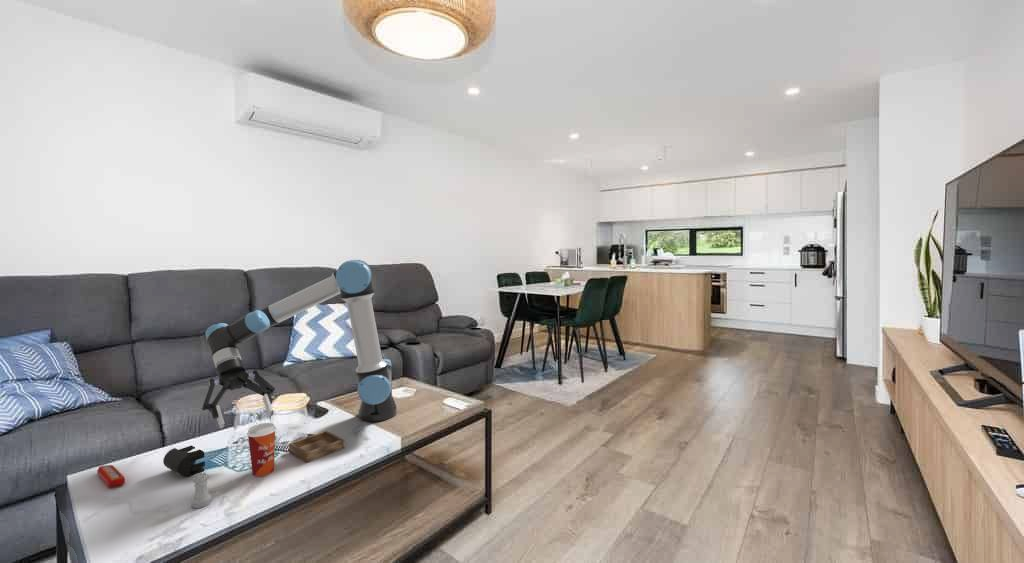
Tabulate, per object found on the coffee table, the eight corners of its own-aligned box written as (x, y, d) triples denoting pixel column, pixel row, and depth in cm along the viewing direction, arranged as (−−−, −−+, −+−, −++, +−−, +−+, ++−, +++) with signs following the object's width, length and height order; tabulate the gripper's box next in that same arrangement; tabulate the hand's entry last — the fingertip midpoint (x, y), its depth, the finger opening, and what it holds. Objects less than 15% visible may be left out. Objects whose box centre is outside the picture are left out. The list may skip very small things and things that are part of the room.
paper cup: (264, 479, 122) (262, 433, 121) (242, 477, 124) (240, 431, 123) (284, 466, 130) (282, 422, 129) (263, 464, 131) (261, 421, 130)
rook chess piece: (189, 510, 107) (187, 481, 107) (194, 501, 111) (192, 472, 111) (209, 506, 109) (208, 477, 109) (214, 497, 113) (212, 469, 113)
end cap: (163, 473, 126) (162, 451, 126) (190, 463, 132) (189, 442, 132) (178, 482, 121) (177, 459, 121) (206, 471, 127) (204, 450, 127)
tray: (326, 438, 149) (326, 430, 149) (344, 448, 142) (344, 439, 142) (289, 452, 139) (288, 443, 139) (306, 463, 132) (305, 453, 132)
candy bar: (127, 486, 120) (126, 476, 119) (109, 492, 117) (109, 481, 116) (112, 470, 129) (111, 460, 129) (95, 475, 126) (95, 465, 126)
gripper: (266, 363, 151) (285, 413, 142) (181, 379, 131) (197, 438, 123) (272, 351, 147) (292, 402, 139) (184, 365, 128) (201, 425, 119)
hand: (247, 419), depth 131 cm, fingers open, 13 cm apart
